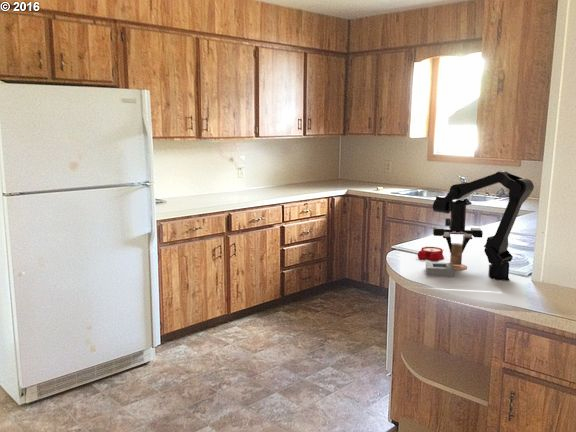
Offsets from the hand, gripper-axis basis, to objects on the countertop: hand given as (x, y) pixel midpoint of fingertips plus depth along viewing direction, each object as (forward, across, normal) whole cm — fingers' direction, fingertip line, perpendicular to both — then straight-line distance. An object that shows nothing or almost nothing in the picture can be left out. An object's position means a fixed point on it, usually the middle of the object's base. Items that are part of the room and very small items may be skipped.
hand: (456, 252), depth 215 cm
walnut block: (+4, 0, 0) cm, 4 cm away
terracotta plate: (+6, 0, 0) cm, 6 cm away
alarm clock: (+7, +9, -15) cm, 19 cm away
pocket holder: (+6, +7, +10) cm, 14 cm away
